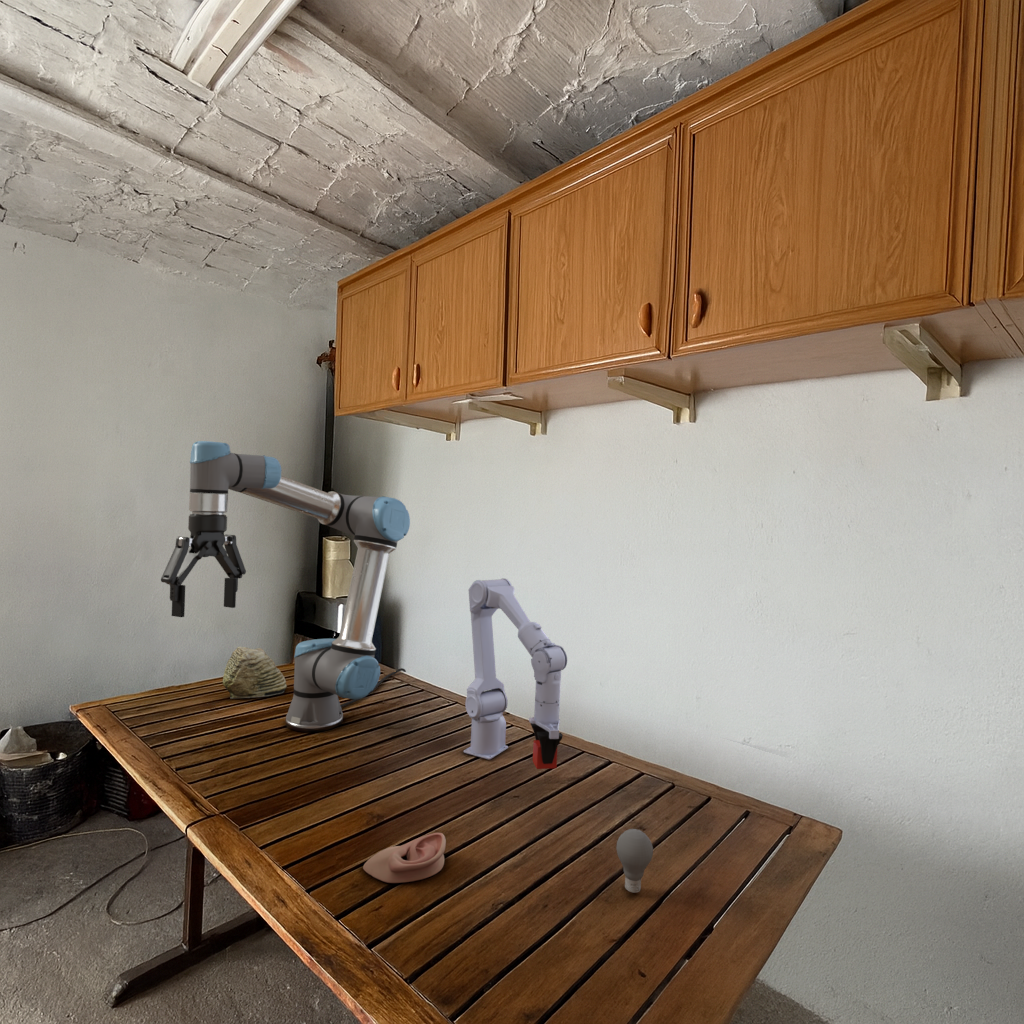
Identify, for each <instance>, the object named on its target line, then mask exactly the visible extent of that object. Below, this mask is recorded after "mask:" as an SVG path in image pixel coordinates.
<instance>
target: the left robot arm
mask: <svg viewBox="0 0 1024 1024" xmlns="http://www.w3.org/2000/svg"><path fill="white" fill-rule="evenodd" d="M189 465H190V467H189V468H190V469H189V472H190V474H189V502H188V511H190V512H191V513H190V514H189V515H188V527H187V528H188V531H189V533H190V535H189V537H188V536H177V537H176V539H175V547H174V549H173V550H172V554H171V555H170V558H169V560H168V562H167V564H166V567H165V569H164V571H163V572H162V573H163V574H162V575H161V578H160V582H161V583H165V584H166V585H169V601H170V602H171V617H174V618H175V617H176V618H185V611H186V609H185V605H186V585H185V584H183V583H184V581H185V580H186V579H187V578H188V576H189V574H190V573H191V571H193V569H194V568H195V565H196V564H197V563H198V561H200V560H201V559H203V558H209V557H213V558H215V560H216V561H217V562H218V564H219V566H220V567H221V569H222V570H223V571H224V573H225V574H226V576H227V577H224V583H223V584H224V586H223V587H224V589H223V607H224V608H229V609H230V608H231V609H235V608H236V605H237V604H236V603H237V602H236V601H237V600H236V599H237V592H238V590H239V579H242V578H243V576H244V575H246V573H247V570H246V567H245V564H244V561H243V559H242V555H241V553H240V550H239V548H238V544H237V536H236V535H235V534H225V532H227V530H228V516H227V515H226V513H228V508H229V490H230V491H233V492H237V493H240V494H242V495H243V494H244V495H246V496H249V497H252V498H256V499H258V500H261V501H264V502H267V503H270V504H273V505H275V506H278V507H282V508H285V509H288V510H291V511H294V512H297V513H300V514H303V515H305V516H308V517H312V518H314V519H317V520H318V522H319V523H320V524H322V525H325V526H327V527H329V528H333V529H335V530H338V531H340V532H342V533H345V534H347V535H351V536H353V537H354V538H353V543H354V544H355V546H356V547H357V551H356V555H355V560H354V565H353V570H352V575H351V579H350V584H349V588H348V592H347V593H348V594H347V597H346V603H345V607H344V613H343V617H342V622H341V626H340V631H339V636H338V637H337V638H317V639H308V640H304V641H300V642H299V643H297V645H296V646H295V650H294V655H293V657H294V672H293V673H294V674H293V695H292V696H293V697H292V699H291V702H290V704H289V708H288V711H287V713H286V715H285V726H286V728H287V729H289V730H291V731H294V732H295V731H296V732H301V733H316V732H325V731H329V730H332V729H335V728H337V727H339V726H340V725H342V723H343V722H344V713H343V709H342V708H344V707H346V706H349V705H351V704H353V703H356V702H359V701H360V700H362V699H364V698H366V697H367V696H369V695H370V694H372V693H373V692H374V691H375V690H376V689H377V688H378V687H379V686H380V685H381V684H382V683H383V682H384V681H386V679H388V678H389V677H391V676H393V675H395V674H397V673H399V672H400V671H402V672H403V673H406V672H407V670H406V669H405V668H404V667H403V668H402V667H401V668H398V669H396V670H395V671H396V672H394V671H393V672H390V673H388V674H386V675H385V676H384V677H383V678H381V679H380V676H381V666H380V665H379V661H378V660H377V659H376V658H375V655H376V652H377V651H376V650H377V647H375V645H374V643H373V635H374V632H375V627H376V622H377V617H378V613H379V607H380V603H381V602H380V601H381V597H382V592H383V587H384V582H385V579H386V578H385V577H386V572H387V568H388V562H389V558H390V554H391V553H393V552H395V551H396V550H397V546H398V542H399V541H401V540H403V539H404V538H405V536H407V534H408V533H409V530H410V526H411V518H410V513H409V511H408V509H407V507H406V505H405V504H404V503H403V502H402V501H401V500H400V499H397V498H395V497H390V496H384V495H383V496H375V495H374V496H371V495H368V496H367V495H352V494H351V495H350V494H343V493H340V492H336V491H328V492H326V491H323V490H321V489H318V488H316V487H313V486H310V485H307V484H305V483H302V482H300V481H297V480H295V479H292V478H289V477H286V476H283V475H282V466H281V463H280V461H279V460H278V459H277V458H276V457H273V456H267V455H265V454H264V455H260V454H259V455H258V454H244V453H235V452H231V447H230V444H228V443H227V442H220V441H208V440H198V441H195V442H194V443H192V447H191V451H190V460H189ZM339 697H340V698H342V699H348V700H350V701H347V702H344V703H342V704H341V702H340V699H339Z"/></svg>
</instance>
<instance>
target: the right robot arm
mask: <svg viewBox="0 0 1024 1024" xmlns="http://www.w3.org/2000/svg"><path fill="white" fill-rule="evenodd" d="M515 593H516V589H515V587H514V586H513V585H512V583H511V581H510V580H509V579H508V578H503V577H502V578H497V579H483V580H481V579H476V580H474V581H473V582H472V584H471V585H470V587H469V588H468V601H469V602H468V603H469V612H470V622H471V637H472V652H473V665H474V680H473V681H472V682H471V683H470V684H469V685H468V686H467V687H466V698H465V704H464V705H465V711H466V713H467V715H468V716H469V718H470V719H471V725H470V728H471V729H470V746H469V747H467V748H466V749H464V750H463V753H464V754H467V755H471V756H475V757H478V758H481V759H484V760H492V759H493V758H495V757H497V756H498V755H500V754H501V753H503V752H504V751H506V750H507V749H509V746H508V745H506V736H507V722H506V718H505V716H504V715H503V714H504V713H505V712H506V710H507V708H508V702H509V701H508V696H507V693H506V690H505V684H504V682H503V681H501V680H499V678H498V677H497V670H496V656H495V644H494V631H493V630H494V629H493V628H494V627H493V616H494V614H495V613H496V612H497V610H498V609H499V610H501V611H502V612H503V613H504V614H505V616H506V617H507V618H508V619H509V620H510V622H511V623H512V624H513V625H514V626H515V628H516V629H517V630H518V631H517V638H518V640H519V642H521V644H522V645H523V647H524V648H525V649H526V651H527V653H528V654H529V655H530V657H531V658H530V663H531V667H532V670H533V677H534V680H535V691H534V692H535V695H534V712H533V713H534V714H533V717H529V718H528V723H530V726H531V728H532V732H533V734H534V735H533V736H534V740H539V741H540V745H541V754H542V761H543V764H552V762H553V759H554V756H555V752H556V749H557V750H558V747H559V744H560V742H561V741H562V739H563V738H564V737H563V733H562V732H560V725H561V719H560V710H561V709H560V707H561V690H562V687H561V686H562V671H564V670H565V669H566V667H567V665H568V655H567V653H566V651H565V649H564V647H563V646H562V645H559V644H556V643H555V642H552V641H551V639H550V637H548V635H547V634H546V633H545V631H544V630H543V628H542V625H541V624H540V623H538V622H537V621H530V618H529V617H528V615H527V613H526V612H525V611H524V609H523V607H522V606H521V604H520V603H519V601H518V599H517V598H516V596H515V595H516V594H515Z"/></svg>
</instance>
